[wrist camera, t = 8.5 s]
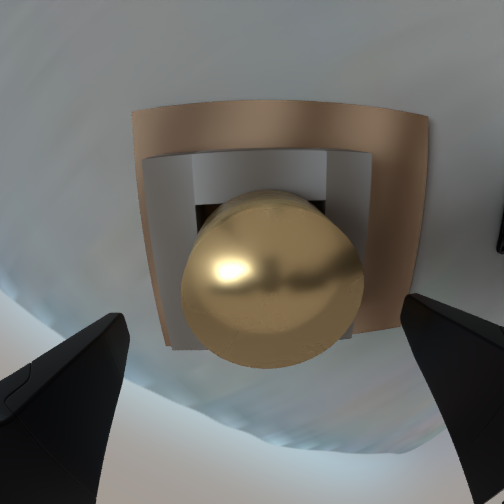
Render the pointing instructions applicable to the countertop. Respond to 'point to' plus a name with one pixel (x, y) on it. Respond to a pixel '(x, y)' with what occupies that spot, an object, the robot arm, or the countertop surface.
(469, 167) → the countertop surface
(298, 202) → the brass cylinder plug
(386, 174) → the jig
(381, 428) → the countertop surface
